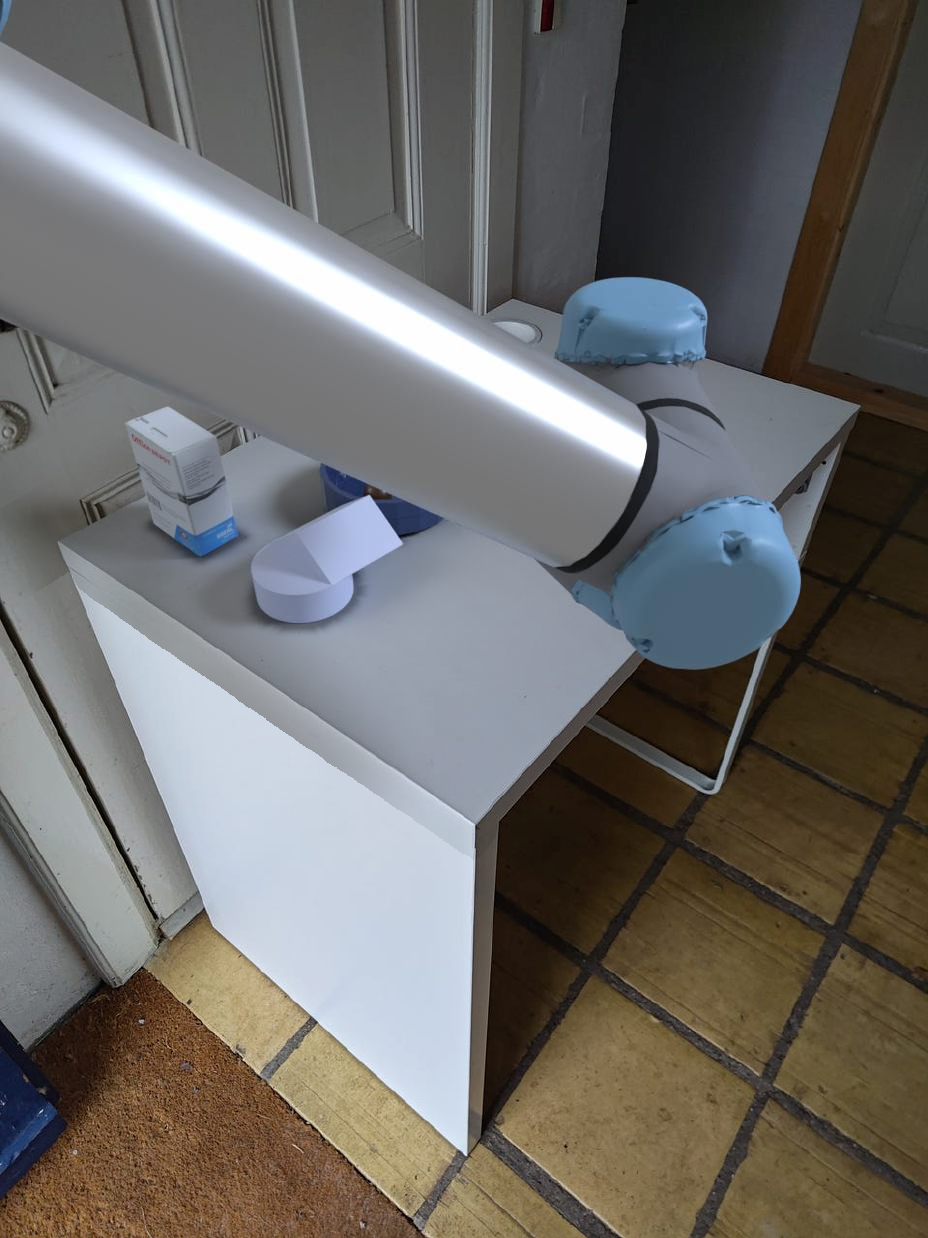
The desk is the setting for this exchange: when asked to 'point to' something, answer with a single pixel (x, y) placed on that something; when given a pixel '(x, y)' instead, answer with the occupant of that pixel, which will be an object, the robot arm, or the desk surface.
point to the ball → (376, 493)
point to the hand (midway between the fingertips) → (358, 344)
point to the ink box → (183, 479)
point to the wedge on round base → (320, 562)
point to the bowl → (396, 510)
